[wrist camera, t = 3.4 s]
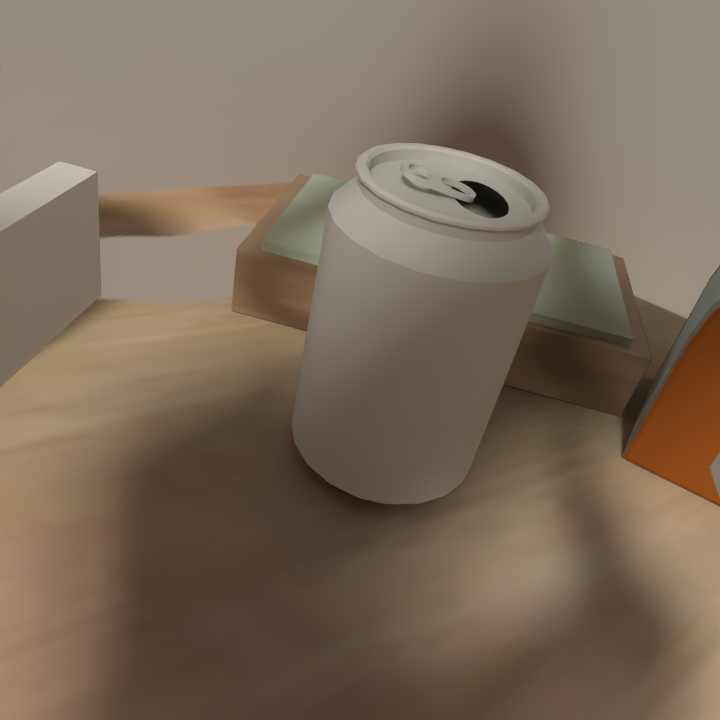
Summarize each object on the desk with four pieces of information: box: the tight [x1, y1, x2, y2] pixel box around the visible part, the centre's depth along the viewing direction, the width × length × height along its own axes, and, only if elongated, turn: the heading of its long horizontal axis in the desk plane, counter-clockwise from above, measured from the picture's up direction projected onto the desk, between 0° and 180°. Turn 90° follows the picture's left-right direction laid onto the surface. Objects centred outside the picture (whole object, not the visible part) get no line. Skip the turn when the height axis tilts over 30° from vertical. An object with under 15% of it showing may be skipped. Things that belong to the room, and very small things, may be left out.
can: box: [292, 143, 554, 504], centre depth 25 cm, size 8×8×12 cm
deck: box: [232, 173, 652, 416], centre depth 37 cm, size 20×11×4 cm, turn 78°
